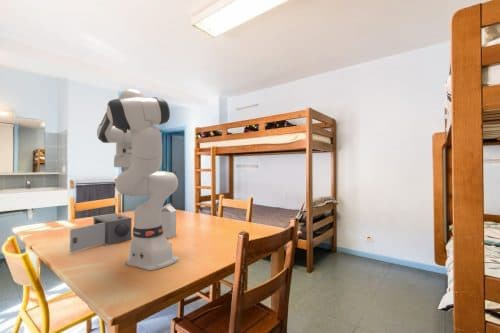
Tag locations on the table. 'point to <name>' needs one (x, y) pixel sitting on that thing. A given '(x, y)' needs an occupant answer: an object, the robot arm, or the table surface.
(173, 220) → the milk carton
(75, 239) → the door
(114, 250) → the table surface
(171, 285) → the table surface
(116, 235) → the housing
